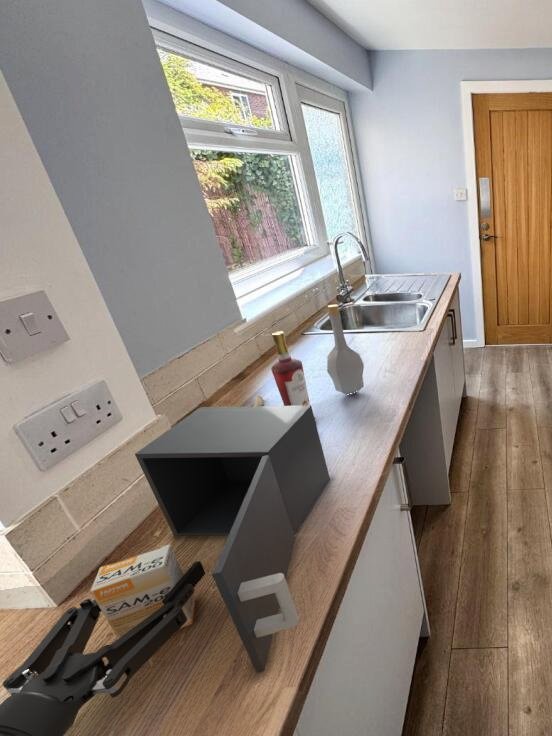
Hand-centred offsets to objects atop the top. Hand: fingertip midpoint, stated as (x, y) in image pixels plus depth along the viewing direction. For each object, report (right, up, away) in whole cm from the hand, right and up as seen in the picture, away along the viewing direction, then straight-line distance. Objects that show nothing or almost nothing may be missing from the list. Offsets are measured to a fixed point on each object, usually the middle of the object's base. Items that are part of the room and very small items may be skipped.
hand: (170, 567), depth 64 cm
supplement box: (0, -9, -1) cm, 9 cm away
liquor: (-5, +13, +51) cm, 53 cm away
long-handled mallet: (-19, +13, +51) cm, 56 cm away
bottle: (+2, +20, +67) cm, 70 cm away
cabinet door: (+18, -6, +3) cm, 20 cm away
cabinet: (+1, +1, +22) cm, 22 cm away
